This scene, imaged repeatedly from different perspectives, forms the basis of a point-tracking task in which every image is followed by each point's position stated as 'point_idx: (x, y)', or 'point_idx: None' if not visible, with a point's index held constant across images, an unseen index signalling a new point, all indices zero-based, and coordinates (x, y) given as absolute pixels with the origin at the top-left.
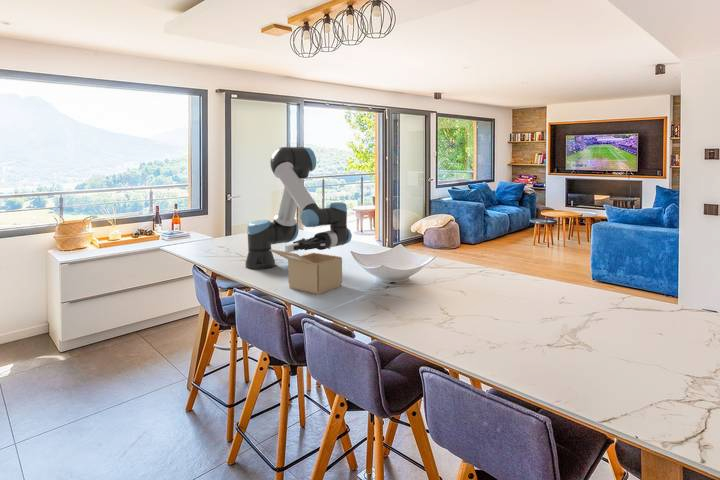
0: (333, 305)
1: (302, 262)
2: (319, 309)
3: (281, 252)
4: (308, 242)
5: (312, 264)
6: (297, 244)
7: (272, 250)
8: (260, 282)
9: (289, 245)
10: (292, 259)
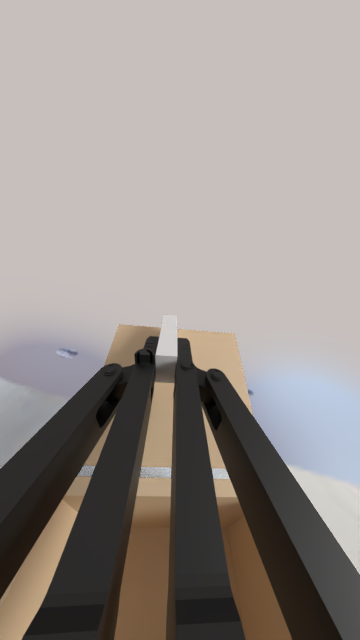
0: (23, 441)
1: (168, 479)
2: (66, 398)
3: (182, 331)
4: (105, 440)
5: (90, 478)
6: (157, 350)
7: (221, 334)
8: (355, 506)
9: (163, 318)
10: (206, 429)
